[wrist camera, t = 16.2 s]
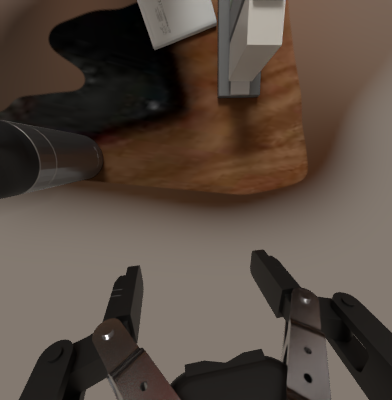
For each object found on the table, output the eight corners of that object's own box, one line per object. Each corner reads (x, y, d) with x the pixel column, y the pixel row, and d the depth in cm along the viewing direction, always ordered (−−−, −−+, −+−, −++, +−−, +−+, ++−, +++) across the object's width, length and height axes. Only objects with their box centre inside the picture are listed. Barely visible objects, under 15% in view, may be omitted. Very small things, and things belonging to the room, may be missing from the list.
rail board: (217, 98, 38) (232, 65, 24) (217, -13, 34) (236, -129, 20) (257, 97, 38) (294, 64, 24) (262, -13, 34) (310, -129, 20)
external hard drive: (215, 28, 36) (154, 52, 36) (202, -24, 34) (137, 3, 34) (217, 22, 34) (153, 47, 35) (202, -32, 32) (135, -5, 33)
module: (228, 81, 35) (248, 40, 23) (229, 43, 34) (252, -21, 21) (252, 81, 35) (286, 41, 23) (255, 44, 34) (292, -20, 22)
